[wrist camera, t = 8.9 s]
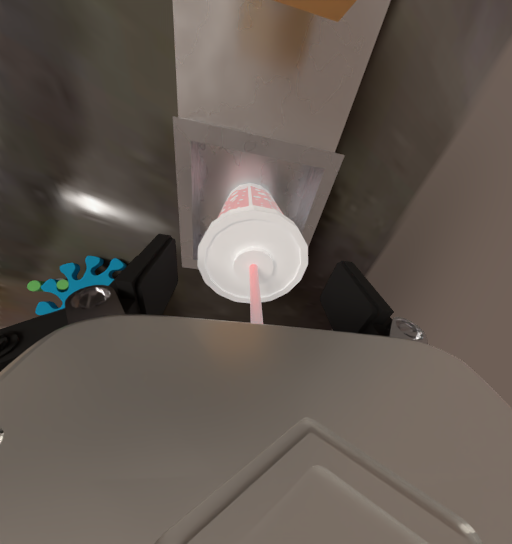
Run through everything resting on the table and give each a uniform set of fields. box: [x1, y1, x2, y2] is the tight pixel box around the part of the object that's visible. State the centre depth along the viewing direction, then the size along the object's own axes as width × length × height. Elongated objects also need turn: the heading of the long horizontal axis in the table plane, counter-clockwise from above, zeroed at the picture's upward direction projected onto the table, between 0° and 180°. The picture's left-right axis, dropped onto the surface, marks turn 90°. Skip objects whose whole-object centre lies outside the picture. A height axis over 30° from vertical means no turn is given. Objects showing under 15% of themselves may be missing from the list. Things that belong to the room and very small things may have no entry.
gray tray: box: [173, 0, 391, 269], centre depth 13 cm, size 22×12×4 cm, turn 170°
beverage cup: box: [197, 183, 308, 324], centre depth 12 cm, size 6×6×14 cm
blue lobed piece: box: [27, 256, 126, 315], centre depth 22 cm, size 11×6×10 cm
